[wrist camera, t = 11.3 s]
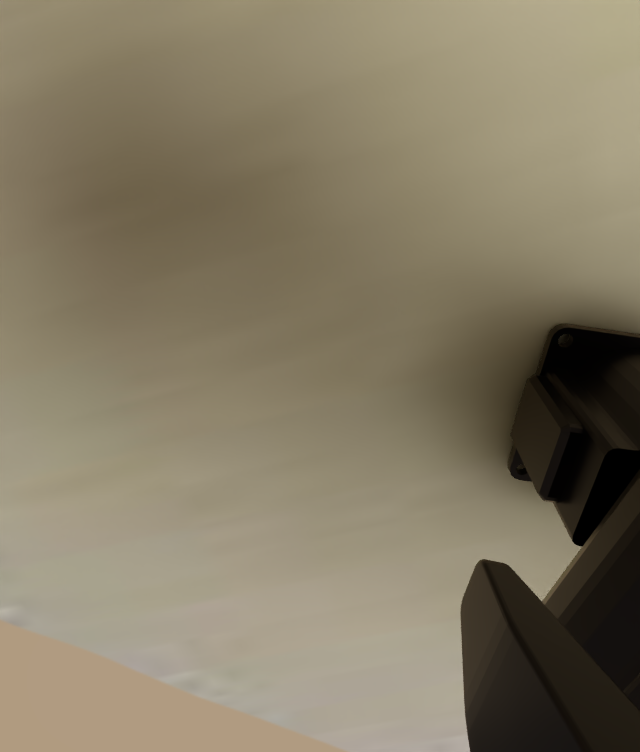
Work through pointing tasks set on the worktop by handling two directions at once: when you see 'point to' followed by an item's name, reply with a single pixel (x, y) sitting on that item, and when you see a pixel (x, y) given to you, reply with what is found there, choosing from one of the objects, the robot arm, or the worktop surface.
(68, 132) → the worktop surface
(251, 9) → the worktop surface
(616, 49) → the worktop surface
